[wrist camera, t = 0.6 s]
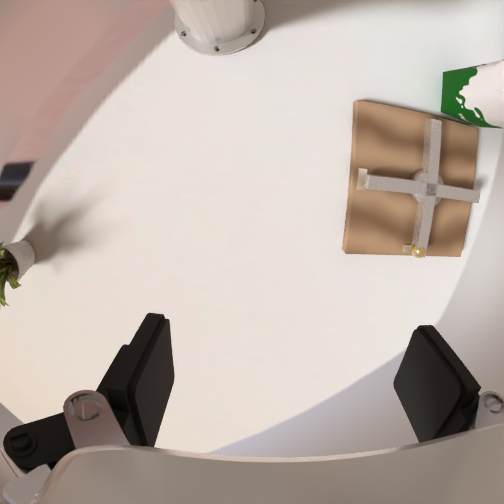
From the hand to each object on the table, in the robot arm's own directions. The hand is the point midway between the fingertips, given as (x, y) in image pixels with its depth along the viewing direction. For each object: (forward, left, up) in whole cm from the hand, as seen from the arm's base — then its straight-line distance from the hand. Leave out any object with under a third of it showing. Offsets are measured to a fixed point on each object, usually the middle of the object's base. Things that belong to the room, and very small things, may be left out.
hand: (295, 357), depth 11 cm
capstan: (-3, +23, -32) cm, 40 cm away
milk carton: (-19, +31, -34) cm, 50 cm away
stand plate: (-3, +23, -34) cm, 41 cm away
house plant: (+10, -43, -34) cm, 56 cm away
